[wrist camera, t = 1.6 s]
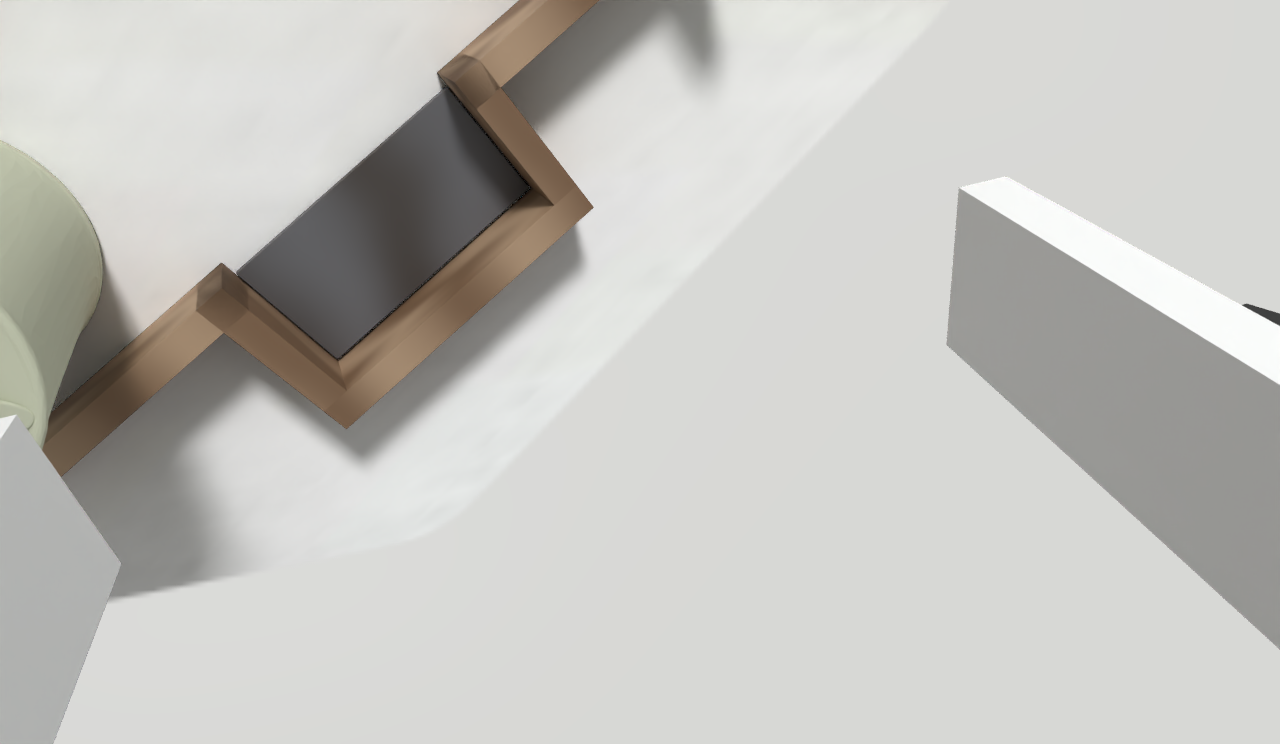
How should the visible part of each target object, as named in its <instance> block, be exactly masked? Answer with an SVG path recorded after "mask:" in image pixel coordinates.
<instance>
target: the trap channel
mask: <svg viewBox="0 0 1280 744" xmlns="http://www.w3.org/2000/svg"><path fill="white" fill-rule="evenodd" d="M598 1H599V0H519V1H518V2H517V3H516V4H514V5H513V6H512V7H511V8H510V9H509V10H508V11H507V12H505V13H504V14H503V15H502V16H501V17H500V18H499V19H497V20H496V21H495V22H494V23H493V24H492V25H491V26H490V27H488V28H487V29H486V30H485V31H484V32H483V33H482V34H480V35H479V36H478V37H477V38H476V39H475V40H474V41H472V42H471V43H470V44H469V45H468V46H467V47H466V48H465V49H463V50H462V51H461V52H460V53H459V54H458V55H457V56H455V57H454V58H453V59H452V60H451V61H450V62H449V63H448V64H446V65H445V66H444V67H443V68H442V69H441V70H440V71H438V72H437V73H438V74H439V76H440V77H441V78H442V79H443V81H444V82H445V83H446V84H447V85H448V87H449V88H450V89H451V90H452V92H453V93H454V94H455V95H456V96H457V98H458V99H459V100H460V101H461V103H462V104H463V105H464V106H465V107H466V109H467V110H468V111H469V112H470V114H471V115H472V116H473V117H474V118H475V120H476V121H477V122H478V123H479V125H480V126H481V127H482V128H483V129H484V131H485V132H486V133H487V134H488V136H489V137H490V138H491V139H492V140H493V142H494V143H495V144H496V145H497V147H498V148H499V149H500V150H501V151H502V153H503V154H504V155H505V156H506V158H507V159H508V160H509V161H510V163H511V164H512V165H513V166H514V167H515V169H516V170H517V171H518V172H519V174H520V175H521V176H522V177H523V178H524V180H525V181H526V182H527V183H528V185H529V186H530V187H531V189H530V190H529V191H528V192H527V193H526V194H525V195H524V196H522V197H521V198H520V199H519V200H518V201H517V202H516V203H515V204H513V205H512V206H511V207H510V208H509V209H508V210H507V211H506V212H505V213H503V214H502V215H501V216H500V217H499V218H498V219H497V220H496V221H494V222H493V223H492V224H491V225H490V226H489V227H488V228H487V229H485V230H484V231H483V232H482V233H481V234H480V235H479V236H478V237H476V238H475V239H474V240H473V241H472V242H471V243H470V244H469V245H468V246H466V247H465V248H464V249H463V250H462V251H461V252H460V253H459V254H457V255H456V256H455V257H454V258H453V259H452V260H451V261H450V262H448V263H447V264H446V265H445V266H444V267H443V268H442V269H441V270H440V271H438V272H437V273H436V274H435V275H434V276H433V277H432V278H431V279H429V280H428V281H427V282H426V283H425V284H424V285H423V286H422V287H420V288H419V289H418V290H417V291H416V292H415V293H414V294H413V295H411V296H410V297H409V298H408V299H407V300H406V301H405V302H404V303H403V304H401V305H400V306H399V307H398V308H397V309H396V310H395V311H394V312H392V313H391V314H390V315H389V316H388V317H387V318H386V319H385V320H383V321H382V322H381V323H380V324H379V325H378V326H377V327H376V328H375V329H373V330H372V331H371V332H370V333H369V334H368V335H367V336H366V337H364V338H363V339H362V340H361V341H360V342H359V343H358V344H357V345H355V346H354V347H353V348H352V349H351V350H350V351H349V352H348V353H347V354H345V355H344V356H343V357H342V358H341V359H340V360H339V361H338V360H337V359H338V358H339V357H340V356H341V355H342V354H344V353H345V352H346V351H347V350H348V349H349V348H350V347H351V346H353V345H354V344H355V343H356V342H357V341H358V340H359V339H360V338H362V337H363V336H364V335H365V334H366V333H367V332H368V331H369V330H370V329H372V328H373V327H374V326H375V325H376V324H377V323H378V322H379V321H381V320H382V319H383V318H384V317H385V316H386V315H387V314H388V313H390V312H391V311H392V310H393V309H394V308H395V307H396V306H397V305H399V304H400V303H401V302H402V301H403V300H404V299H405V298H406V297H407V296H409V295H410V294H411V293H412V292H413V291H414V290H415V289H416V288H418V287H419V286H420V285H421V284H422V283H423V282H424V281H425V280H427V279H428V278H429V277H430V276H431V275H432V274H433V273H434V272H436V271H437V270H438V269H439V268H440V267H441V266H442V265H443V264H444V263H446V262H447V261H448V260H449V259H450V258H451V257H452V256H453V255H455V254H456V253H457V252H458V251H459V250H460V249H461V248H462V247H464V246H465V245H466V244H467V243H468V242H469V241H470V240H471V239H472V238H474V237H475V236H476V235H477V234H478V233H479V232H480V231H481V230H483V229H484V228H485V227H486V226H487V225H488V224H489V223H490V222H492V221H493V220H494V219H495V218H496V217H497V216H498V215H499V214H501V213H502V212H503V211H504V210H505V209H506V208H507V207H508V206H509V205H511V204H512V203H513V202H514V201H515V200H516V199H517V198H518V197H520V196H521V195H522V194H523V193H524V192H525V191H526V190H527V189H529V187H528V186H527V185H526V184H525V182H524V181H523V180H522V179H521V177H520V176H519V175H518V174H517V173H516V171H515V170H514V169H513V168H512V166H511V165H510V164H509V163H508V162H507V160H506V159H505V158H504V157H503V156H502V154H501V153H500V152H499V151H498V149H497V148H496V147H495V146H494V145H493V143H492V142H491V141H490V140H489V138H488V137H487V136H486V135H485V134H484V132H483V131H482V130H481V129H480V127H479V126H478V125H477V124H476V123H475V121H474V120H473V119H472V118H471V116H470V115H469V114H468V113H467V112H466V110H465V109H464V108H463V107H462V105H461V104H460V103H459V102H458V101H457V99H456V98H455V97H454V96H453V95H452V93H451V92H450V91H449V90H448V88H446V87H445V88H444V89H443V90H442V91H440V92H439V93H438V94H437V95H436V96H435V97H434V98H433V99H431V100H430V101H429V102H428V103H427V104H426V105H425V106H423V107H422V108H421V109H420V110H419V111H418V112H417V113H416V114H414V115H413V116H412V117H411V118H410V119H409V120H408V121H406V122H405V123H404V124H403V125H402V126H401V127H400V128H399V129H397V130H396V131H395V132H394V133H393V134H392V135H391V136H389V137H388V138H387V139H386V140H385V141H384V142H383V143H382V144H380V145H379V146H378V147H377V148H376V149H375V150H374V151H372V152H371V153H370V154H369V155H368V156H367V157H366V158H365V159H363V160H362V161H361V162H360V163H359V164H358V165H357V166H355V167H354V168H353V169H352V170H351V171H350V172H349V173H348V174H346V175H345V176H344V177H343V178H342V179H341V180H340V181H338V182H337V183H336V184H335V185H334V186H333V187H332V188H331V189H329V190H328V191H327V192H326V193H325V194H324V195H323V196H321V197H320V198H319V199H318V200H317V201H316V202H315V203H314V204H312V205H311V206H310V207H309V208H308V209H307V210H306V211H304V212H303V213H302V214H301V215H300V216H299V217H298V218H297V219H295V220H294V221H293V222H292V223H291V224H290V225H289V226H287V227H286V228H285V229H284V230H283V231H282V232H281V233H280V234H278V235H277V236H276V237H275V238H274V239H273V240H272V241H271V242H269V243H268V244H267V245H266V246H265V247H264V248H263V249H261V250H260V251H259V252H258V253H257V254H256V255H255V256H254V257H252V258H251V259H250V260H249V261H248V262H247V263H246V264H244V265H243V266H242V267H241V268H240V269H239V270H238V271H237V272H236V273H237V275H238V276H240V277H241V278H242V279H243V280H244V281H245V282H247V283H248V284H249V285H250V286H251V287H253V288H254V289H255V290H256V291H257V292H258V293H260V294H261V295H262V296H263V297H264V298H266V299H267V300H268V301H269V302H270V303H271V304H273V305H274V306H275V307H276V308H277V309H279V310H280V311H281V312H282V313H283V314H285V315H286V316H287V317H288V318H289V319H290V320H292V321H293V322H294V323H295V324H296V325H298V326H299V327H300V328H301V329H302V330H303V331H305V332H306V333H307V334H308V335H309V336H311V337H312V338H313V339H314V340H315V341H316V342H315V341H314V340H313V339H312V338H311V337H309V336H308V335H307V334H306V333H305V332H303V331H302V330H301V329H300V328H299V327H298V326H296V325H295V324H294V323H293V322H292V321H290V320H289V319H288V318H287V317H286V316H285V315H283V314H282V313H281V312H280V311H279V310H277V309H276V308H275V307H274V306H273V305H271V304H270V303H269V302H268V301H267V300H266V299H264V298H263V297H262V296H261V295H260V294H258V293H257V292H256V291H255V290H254V289H253V288H251V287H250V286H249V285H248V284H247V283H245V282H244V281H243V280H242V279H241V278H239V277H238V276H237V275H236V274H235V273H234V272H232V271H231V270H230V269H229V268H228V267H226V266H225V265H224V264H223V263H221V264H219V265H218V266H217V267H216V268H215V269H214V270H213V271H211V272H210V273H209V274H208V275H207V276H206V277H205V278H204V279H202V280H201V281H200V282H199V283H198V284H197V285H196V286H194V287H193V288H192V289H191V290H190V291H189V292H188V293H187V294H185V295H184V296H183V297H182V298H181V299H180V300H179V301H177V302H176V303H175V304H174V305H173V306H172V307H171V308H170V309H168V310H167V311H166V312H165V313H164V314H163V315H162V316H160V317H159V318H158V319H157V320H156V321H155V322H154V323H152V324H151V325H150V326H149V327H148V328H147V329H146V330H145V331H143V332H142V333H141V334H140V335H139V336H138V337H137V338H135V339H134V340H133V341H132V342H131V343H130V344H129V345H128V346H126V347H125V348H124V349H123V350H122V351H121V352H120V353H118V354H117V355H116V356H115V357H114V358H113V359H112V360H111V361H109V362H108V363H107V364H106V365H105V366H104V367H103V368H101V369H100V370H99V371H98V372H97V373H96V374H95V375H93V376H92V377H91V378H90V379H89V380H88V381H87V382H86V383H84V384H83V385H82V386H81V387H80V388H79V389H78V390H76V391H75V392H74V393H73V394H72V395H71V396H70V397H69V398H67V399H66V400H65V401H64V402H63V403H62V404H61V405H59V406H58V407H57V408H56V409H55V410H54V411H53V412H51V413H50V416H49V419H48V429H47V434H46V438H45V441H44V445H43V449H42V451H43V453H44V454H45V455H46V457H47V458H48V460H49V461H50V462H51V464H52V465H53V467H54V468H55V470H56V471H57V472H58V474H59V475H60V477H61V476H63V475H64V474H65V473H66V472H67V471H68V470H69V469H71V468H72V467H73V466H74V465H75V464H76V463H77V462H78V461H80V460H81V459H82V458H83V457H84V456H85V455H86V454H87V453H89V452H90V451H91V450H92V449H93V448H94V447H95V446H96V445H98V444H99V443H100V442H101V441H102V440H103V439H104V438H106V437H107V436H108V435H109V434H110V433H111V432H112V431H113V430H115V429H116V428H117V427H118V426H119V425H120V424H121V423H122V422H124V421H125V420H126V419H127V418H128V417H129V416H130V415H132V414H133V413H134V412H135V411H136V410H137V409H138V408H139V407H141V406H142V405H143V404H144V403H145V402H146V401H147V400H148V399H150V398H151V397H152V396H153V395H154V394H155V393H156V392H157V391H159V390H160V389H161V388H162V387H163V386H164V385H165V384H167V383H168V382H169V381H170V380H171V379H172V378H173V377H174V376H176V375H177V374H178V373H179V372H180V371H181V370H182V369H183V368H185V367H186V366H187V365H188V364H189V363H190V362H191V361H193V360H194V359H195V358H196V357H197V356H198V355H199V354H200V353H202V352H203V351H204V350H205V349H206V348H207V347H208V346H209V345H211V344H212V343H213V342H214V341H215V340H216V339H217V338H218V337H220V336H221V335H222V334H223V333H225V334H226V335H227V336H229V337H230V338H231V339H232V340H234V341H235V342H236V343H237V344H239V345H240V346H241V347H243V348H244V349H245V350H246V351H248V352H249V353H250V354H251V355H253V356H254V357H255V358H257V359H258V360H259V361H260V362H262V363H263V364H264V365H265V366H267V367H268V368H269V369H271V370H272V371H273V372H274V373H276V374H277V375H278V376H279V377H281V378H282V379H283V380H285V381H286V382H287V383H288V384H290V385H291V386H292V387H293V388H295V389H296V390H297V391H299V392H300V393H301V394H302V395H304V396H305V397H306V398H307V399H309V400H310V401H311V402H313V403H314V404H315V405H316V406H318V407H319V408H320V409H321V410H323V411H324V412H325V413H326V414H328V415H329V416H330V417H332V418H333V419H334V420H335V421H337V422H338V423H339V424H340V425H342V426H343V427H344V428H346V429H347V428H348V427H349V426H351V425H352V424H353V423H354V422H355V421H356V420H357V419H358V418H359V417H361V416H362V415H363V414H364V413H365V412H366V411H367V410H368V409H369V408H371V407H372V406H373V405H374V404H375V403H376V402H377V401H378V400H380V399H381V398H382V397H383V396H384V395H385V394H386V393H387V392H388V391H390V390H391V389H392V388H393V387H394V386H395V385H396V384H397V383H398V382H400V381H401V380H402V379H403V378H404V377H405V376H406V375H407V374H409V373H410V372H411V371H412V370H413V369H414V368H415V367H416V366H417V365H419V364H420V363H421V362H422V361H423V360H424V359H425V358H426V357H427V356H429V355H430V354H431V353H432V352H433V351H434V350H435V349H436V348H438V347H439V346H440V345H441V344H442V343H443V342H444V341H445V340H446V339H448V338H449V337H450V336H451V335H452V334H453V333H454V332H455V331H456V330H458V329H459V328H460V327H461V326H462V325H463V324H464V323H465V322H467V321H468V320H469V319H470V318H471V317H472V316H473V315H474V314H475V313H477V312H478V311H479V310H480V309H481V308H482V307H483V306H484V305H485V304H487V303H488V302H489V301H490V300H491V299H492V298H493V297H494V296H496V295H497V294H498V293H499V292H500V291H501V290H502V289H503V288H504V287H506V286H507V285H508V284H509V283H510V282H511V281H512V280H513V279H514V278H516V277H517V276H518V275H519V274H520V273H521V272H522V271H523V270H525V269H526V268H527V267H528V266H529V265H530V264H531V263H532V262H533V261H535V260H536V259H537V258H538V257H539V256H540V255H541V254H542V253H543V252H545V251H546V250H547V249H548V248H549V247H550V246H551V245H552V244H554V243H555V242H556V241H557V240H558V239H559V238H560V237H561V236H562V235H564V234H565V233H566V232H567V231H568V230H569V229H570V228H571V227H572V226H574V225H575V224H576V223H577V222H578V221H579V220H580V219H581V218H583V217H584V216H585V215H586V214H587V213H588V212H589V211H590V210H591V209H593V208H594V207H593V206H592V205H591V203H590V202H589V201H588V199H587V198H586V197H585V196H584V194H583V193H582V192H581V190H580V189H579V188H578V186H577V185H576V184H575V183H574V181H573V180H572V179H571V177H570V176H569V175H568V174H567V172H566V171H565V170H564V168H563V167H562V166H561V165H560V163H559V162H558V161H557V159H556V158H555V157H554V155H553V154H552V153H551V152H550V150H549V149H548V148H547V146H546V145H545V144H544V143H543V141H542V140H541V139H540V137H539V136H538V135H537V134H536V132H535V131H534V130H533V128H532V127H531V126H530V124H529V123H528V122H527V121H526V119H525V118H524V117H523V115H522V114H521V113H520V112H519V110H518V109H517V108H516V106H515V105H514V104H513V103H512V101H511V100H510V99H509V97H508V96H507V95H506V93H505V92H504V91H503V90H502V88H501V87H502V86H503V85H504V84H505V83H507V82H508V81H509V80H510V79H511V78H512V77H513V76H514V75H516V74H517V73H518V72H519V71H520V70H521V69H522V68H523V67H525V66H526V65H527V64H528V63H529V62H530V61H531V60H533V59H534V58H535V57H536V56H537V55H538V54H539V53H540V52H542V51H543V50H544V49H545V48H546V47H547V46H548V45H549V44H551V43H552V42H553V41H554V40H555V39H556V38H557V37H559V36H560V35H561V34H562V33H563V32H564V31H565V30H566V29H568V28H569V27H570V26H571V25H572V24H573V23H574V22H575V21H577V20H578V19H579V18H580V17H581V16H582V15H583V14H584V13H586V12H587V11H588V10H589V9H590V8H591V7H592V6H594V5H595V4H596V3H597V2H598ZM317 342H318V343H319V344H320V345H321V346H322V347H324V348H325V349H326V350H327V351H328V352H330V353H331V354H332V355H333V356H334V357H335V358H337V359H335V358H334V357H333V356H332V355H331V354H330V353H328V352H327V351H326V350H325V349H324V348H322V347H321V346H320V345H319V344H318V343H317Z"/></svg>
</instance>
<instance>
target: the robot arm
mask: <svg viewBox="0 0 1280 744" xmlns="http://www.w3.org/2000/svg"><path fill="white" fill-rule="evenodd" d="M947 346H948V347H949V348H951V349H952V350H953V351H954V352H955V353H956V354H957V355H958V356H959V357H960V358H962V359H963V360H964V361H965V362H966V363H967V364H968V365H970V367H971V368H972V369H974V370H975V371H976V372H977V373H978V374H979V375H980V376H981V377H982V378H983V379H984V380H986V381H987V382H988V383H989V384H990V385H991V386H992V387H993V388H994V389H995V390H997V391H998V392H999V393H1000V394H1001V395H1002V396H1003V397H1004V398H1005V399H1006V400H1008V401H1009V402H1010V403H1011V404H1012V405H1013V406H1014V407H1015V408H1016V409H1017V410H1018V411H1019V412H1021V413H1022V414H1023V415H1024V416H1025V417H1026V418H1027V419H1028V420H1030V422H1032V423H1033V424H1034V425H1035V426H1036V427H1037V428H1038V429H1039V430H1040V431H1041V432H1042V433H1044V434H1045V435H1046V436H1047V437H1048V438H1049V439H1050V440H1051V441H1052V442H1053V443H1055V444H1056V445H1057V446H1058V447H1059V448H1060V449H1061V450H1062V451H1063V452H1064V453H1065V454H1067V455H1068V456H1069V457H1070V458H1071V459H1072V460H1073V461H1074V462H1075V463H1076V464H1078V465H1079V466H1080V467H1081V468H1082V469H1083V470H1084V471H1085V472H1086V473H1088V475H1090V476H1091V477H1092V478H1093V479H1094V480H1095V481H1096V482H1097V483H1098V484H1099V485H1100V486H1102V487H1103V488H1104V489H1105V490H1106V491H1107V492H1108V493H1109V494H1110V495H1111V496H1113V497H1114V498H1115V499H1116V500H1117V501H1118V502H1119V503H1120V504H1121V505H1122V506H1123V507H1125V508H1126V509H1127V510H1128V511H1129V512H1130V513H1131V514H1132V515H1133V516H1134V517H1136V518H1137V519H1138V520H1139V521H1140V522H1141V523H1142V524H1143V525H1144V526H1145V527H1146V528H1148V529H1149V530H1150V531H1151V532H1152V533H1153V534H1154V535H1155V536H1156V537H1157V538H1159V539H1160V540H1161V541H1162V542H1163V543H1164V544H1165V545H1166V546H1167V547H1168V548H1169V549H1170V550H1172V551H1173V552H1174V553H1175V554H1176V555H1177V556H1178V557H1179V558H1180V559H1181V560H1183V561H1184V562H1185V563H1186V564H1187V565H1188V566H1189V567H1190V568H1191V569H1192V570H1193V571H1195V572H1196V573H1197V574H1198V575H1199V576H1200V577H1201V578H1202V579H1204V581H1205V582H1207V583H1208V584H1209V585H1210V586H1211V587H1212V588H1213V589H1214V590H1215V591H1216V592H1218V593H1219V594H1220V595H1221V596H1222V597H1223V598H1224V599H1225V600H1226V601H1227V602H1228V603H1230V604H1231V605H1232V606H1233V607H1234V608H1235V609H1236V610H1237V611H1238V612H1239V613H1241V614H1242V615H1243V616H1244V617H1245V618H1246V619H1247V620H1248V621H1249V622H1250V623H1251V624H1253V625H1254V626H1255V627H1256V628H1257V629H1258V630H1259V631H1260V632H1262V634H1263V635H1265V636H1266V637H1267V638H1268V639H1269V640H1270V641H1271V642H1272V643H1273V644H1275V645H1276V646H1277V647H1278V648H1279V649H1280V314H1279V313H1276V312H1272V311H1269V310H1266V309H1263V308H1259V307H1255V306H1253V305H1249V304H1244V305H1240V304H1238V303H1237V302H1234V301H1233V300H1231V299H1229V298H1227V297H1226V296H1224V295H1222V294H1220V293H1218V292H1216V291H1215V290H1213V289H1211V288H1209V287H1207V286H1206V285H1204V284H1202V283H1200V282H1198V281H1196V280H1195V279H1193V278H1191V277H1189V276H1187V275H1186V274H1184V273H1182V272H1180V271H1178V270H1176V269H1175V268H1173V267H1171V266H1169V265H1167V264H1165V263H1164V262H1162V261H1160V260H1158V259H1156V258H1154V257H1153V256H1151V255H1149V254H1147V253H1145V252H1144V251H1141V250H1140V249H1138V248H1136V247H1134V246H1133V245H1131V244H1129V243H1127V242H1125V241H1123V240H1122V239H1120V238H1118V237H1116V236H1114V235H1113V234H1111V233H1109V232H1107V231H1105V230H1103V229H1101V228H1100V227H1098V226H1096V225H1094V224H1092V223H1091V222H1089V221H1087V220H1085V219H1083V218H1082V217H1080V216H1078V215H1076V214H1074V213H1072V212H1071V211H1068V210H1067V209H1065V208H1063V207H1061V206H1060V205H1058V204H1056V203H1054V202H1052V201H1050V200H1049V199H1047V198H1045V197H1043V196H1041V195H1039V194H1038V193H1036V192H1034V191H1032V190H1030V189H1029V188H1027V187H1025V186H1023V185H1021V184H1019V183H1018V182H1016V181H1014V180H1012V179H1010V178H1009V177H1007V176H1005V177H1001V178H997V179H993V180H989V181H984V182H980V183H976V184H972V185H968V186H964V187H960V188H959V193H958V205H957V219H956V231H955V243H954V256H953V269H952V281H951V294H950V307H949V320H948V332H947ZM121 564H122V563H121V562H120V561H119V559H118V558H117V556H116V555H115V554H114V552H113V551H112V549H111V548H110V546H109V545H108V544H107V542H106V541H105V539H104V538H103V536H102V535H101V534H100V532H99V531H98V529H97V528H96V527H95V525H94V524H93V522H92V521H91V519H90V518H89V517H88V515H87V514H86V512H85V511H84V509H83V508H82V507H81V505H80V504H79V502H78V501H77V499H76V498H75V497H74V495H73V494H72V492H71V491H70V490H69V488H68V487H67V485H66V484H65V482H64V481H63V480H62V478H61V477H60V475H59V474H58V472H57V471H56V470H55V468H54V467H53V465H52V464H51V462H50V461H49V460H48V458H47V457H46V455H45V454H44V453H43V451H42V450H41V448H40V447H39V445H38V444H37V443H36V441H35V440H34V438H33V437H32V435H31V434H30V433H29V431H28V430H27V428H26V427H25V426H24V424H23V423H22V421H21V420H20V418H19V417H18V416H17V415H12V416H8V417H4V418H0V744H53V743H54V740H55V738H56V735H57V732H58V729H59V727H60V724H61V722H62V719H63V717H64V714H65V711H66V709H67V706H68V704H69V701H70V698H71V696H72V693H73V690H74V688H75V685H76V683H77V680H78V677H79V674H80V672H81V669H82V667H83V664H84V661H85V659H86V656H87V654H88V651H89V648H90V646H91V643H92V640H93V638H94V635H95V632H96V630H97V627H98V624H99V622H100V619H101V617H102V614H103V611H104V609H105V606H106V604H107V601H108V598H109V596H110V593H111V591H112V588H113V585H114V583H115V580H116V577H117V575H118V572H119V570H120V567H121Z"/></svg>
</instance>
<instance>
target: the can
mask: <svg viewBox="0 0 1280 744" xmlns="http://www.w3.org/2000/svg"><path fill="white" fill-rule="evenodd" d="M102 279H103V266H102V257H101V252H100V246H99V243H98V239H97V237H96V234H95V231H94V229H93V226H92V224H91V223H90V221H89V219H88V217H87V215H86V213H85V211H84V210H83V208H82V207H81V206H80V204H79V203H78V201H77V200H76V199H75V197H74V196H73V195H72V194H71V192H70V191H69V190H68V189H67V188H66V187H65V186H64V184H63V183H62V182H61V181H59V180H58V179H57V178H56V177H55V176H54V175H53V174H52V173H51V172H49V171H48V170H47V169H46V168H45V167H43V166H42V165H41V164H40V163H38V162H37V161H35V160H34V159H33V158H31V157H30V156H28V155H26V154H25V153H23V152H22V151H20V150H18V149H16V148H14V147H13V146H11V145H9V144H7V143H5V142H3V141H1V140H0V418H4V417H8V416H12V415H17V416H18V417H19V418H20V420H21V421H22V423H23V424H24V426H25V427H26V428H27V430H28V431H29V433H30V434H31V435H32V437H33V438H34V440H35V441H36V443H37V444H38V445H39V447H40V448H41V450H42V449H43V445H44V441H45V438H46V434H47V429H48V419H49V416H50V413H51V411H52V408H53V405H54V402H55V399H56V396H57V393H58V390H59V387H60V384H61V382H62V379H63V376H64V374H65V371H66V368H67V366H68V363H69V360H70V358H71V355H72V352H73V350H74V347H75V344H76V342H77V339H78V337H79V335H80V333H81V332H82V331H83V329H84V328H85V327H86V325H87V324H88V322H89V321H90V319H91V317H92V315H93V313H94V311H95V309H96V306H97V303H98V300H99V297H100V293H101V288H102Z"/></svg>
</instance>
